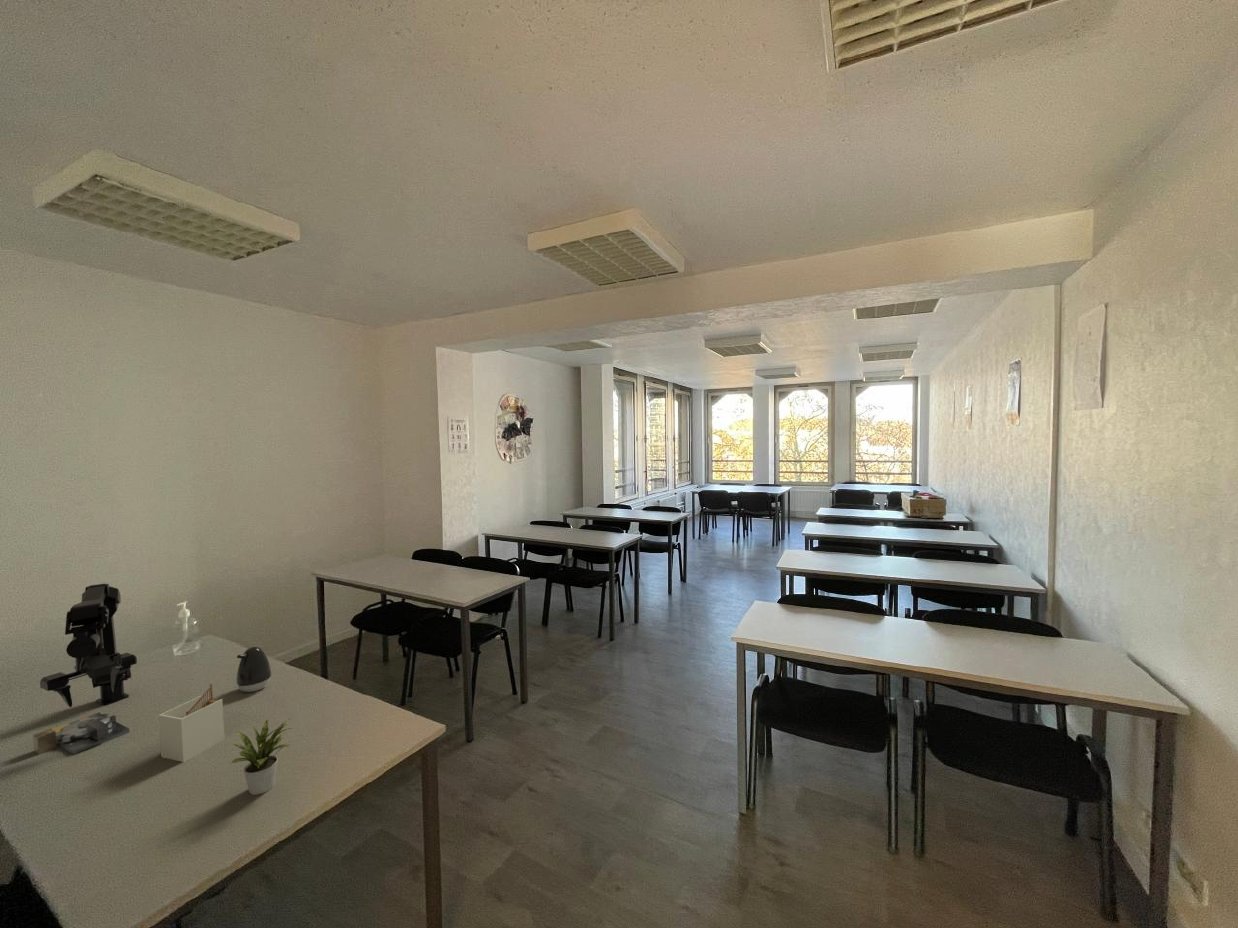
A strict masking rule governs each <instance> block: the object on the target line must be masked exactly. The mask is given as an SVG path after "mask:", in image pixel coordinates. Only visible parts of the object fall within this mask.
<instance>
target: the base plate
mask: <svg viewBox="0 0 1238 928" xmlns="http://www.w3.org/2000/svg"><path fill="white" fill-rule="evenodd" d="M101 714H102V713H100V712H96V713H93V714H90V715H88V716H85V717H82V718H80V719H76V720H73V721H71V722H69V723H65V724H63V725H60V726H56V727H54V728H52V729H53V730H54V731H55V732H56V733H60V729H61V728H63V727H64V726H66V725H72V724H74V723H76V722H79V720H81V719H84V718H87V717H89V718H92V717H98V716H100V715H101ZM128 733H130V728H129V727H126V726H125V725H123V724H121V723H119V722H117V721H116V722H113V723H112V727H110V728H109V737H107V738H104V739H102V740H99V741H97V740H95V739H93V738H92V737H88V738H85V739H84V737H83V738H78V739H74V740H72V741H71V742H62V739H60V740H57V741H56V745H58V746H60V748H62V749H64V751H67V752H68V753H69V754H71V755H76V754H78V753H82V752H84V751H86V750H89V749H91V748H93V747H95V746H98V745H101V744H103V743H106V742H108V741H110V740H113V739H116V738H118V737H121V736H123V735H126V734H128Z"/></svg>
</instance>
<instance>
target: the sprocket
mask: <svg viewBox="0 0 1238 928" xmlns="http://www.w3.org/2000/svg"><path fill="white" fill-rule="evenodd" d="M86 717H87V716H86ZM83 718H84V719H82V718H80V719H81V720H79V719H78V720H79V722H76V723H74V724H72V725H66V726H64V727H63V728H61V729H60V733H56V741H57V740H60V739H62V742H71V741H72V740H74V739H78V738H83V737H84V739H85V738H88V737H92V738H93V739H95V740H97V741H99V740H102V739H104V738H107V737H109V728H110V727H112V723H113V722H117V717H116V715H114V714H113V715H109V713H103V714H102V713H101V715H100V716H98V717H92V718H89V717H87V718H85V717H83Z"/></svg>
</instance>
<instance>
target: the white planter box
mask: <svg viewBox="0 0 1238 928" xmlns="http://www.w3.org/2000/svg"><path fill="white" fill-rule="evenodd" d="M213 695H214V694H213V684H212V683H210V684H209V688H208V689H207V690H206V691H205V692H204V694H202V695H199V696H197V697H195V698H193V699H190V700H188V701H186V702H183V703H181V704H179V705H178V706H175V707H173V708H171V709H169V710H167V711H164V712H162V713H160V714H158V727H159V742H160V744H159V745H160V755H161V756H160V757H161V758H164V759H168V760H173V761H178V762H181V763H185V762H186V761H189V760H190V759H191V758H193V757H195V756H197V755H199V754H201V753H203V752H205V751H206V750H208V749H209V748H211V747H213V746H214V745H216V744H218V743H220V742H222V741H224V740H225V739H226V738H225V722H224V720H225V719H224V707H223V706H224V704H223V702H224V701H223V698H220V699H218V700H215V699H214V698H213ZM203 703H204V704H203Z"/></svg>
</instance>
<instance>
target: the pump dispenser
mask: <svg viewBox="0 0 1238 928" xmlns="http://www.w3.org/2000/svg"><path fill="white" fill-rule="evenodd" d="M236 658H237V659H240V660H239V664H238V666H237V670H236V680H235V683H236V685H237V686H238V688H239V690H240V691H242V692H245V693H253V692H257V691H260V690H261V689H264V688H265V687H266V686H267V685H268V684H269V682H270V680H271V677H272V675H273V673H272V668H271V664H270V661H269V658H268V656H267V654H266V652H265V651H264V650H263V649H262V648H261V647H259V646H251V647H249V648H247V649H246V650H244V652H243V654H238V655H237V656H236Z"/></svg>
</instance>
